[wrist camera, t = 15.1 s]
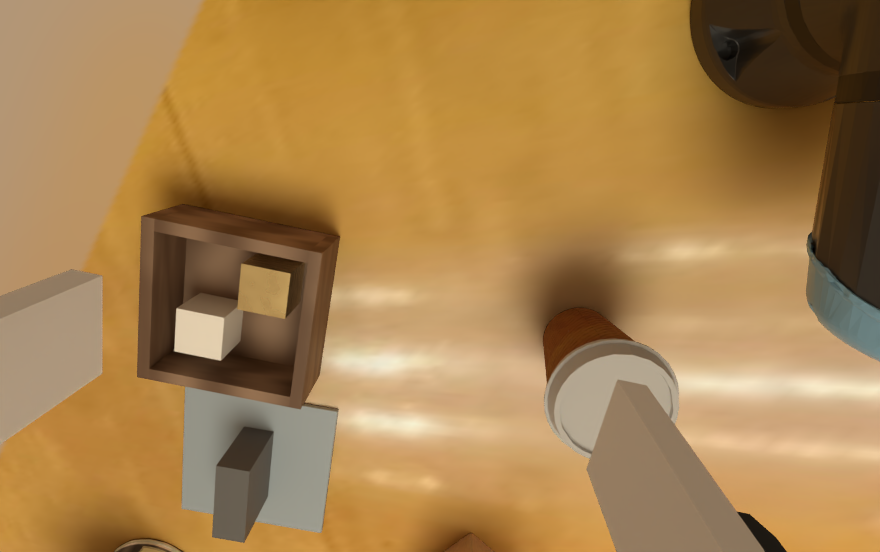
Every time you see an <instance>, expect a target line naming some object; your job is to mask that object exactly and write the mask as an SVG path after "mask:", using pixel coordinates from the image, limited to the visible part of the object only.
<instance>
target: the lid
mask: <svg viewBox="0 0 880 552" xmlns="http://www.w3.org/2000/svg"><path fill="white" fill-rule="evenodd" d="M338 410H339V409H334V408H328V407H323V406H317V405H312V404H306V403H304V404H303V406H302V408H301V410H300V409H295V408H290V407H285V406H280V405H275V404H270V403H265V402H260V401H255V400H250V399H245V398H240V397H235V396H230V395H225V394H220V393H215V392H210V391H205V390H200V389H195V388H190V387H185V413H184V447H183V481H182V509H187V510H192V511H198V512H204V513H210V514H213V532H212V537H214V538H220V539H226V540H231V541H237V542H243V543H244V542H245V540H246V538H247V536H248V534H249V532H250V531H251V529H252V527H253V525H254V523H255V522H261V523H267V524H273V525H278V526H284V527H290V528H295V529H301V530H307V531H313V532H318V533H321V532H322V528H323V521H324V513H325V506H326V499H327V491H328V484H329V476H330V469H331V462H332V454H333V447H334V439H335V432H336V425H337V417H338Z"/></svg>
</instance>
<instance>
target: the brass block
mask: <svg viewBox="0 0 880 552" xmlns="http://www.w3.org/2000/svg"><path fill="white" fill-rule="evenodd" d="M304 267H305V262H300V261H295V260H290V259H285V258H281V257H276V256H271V255H266V254H261V253H257V254H255V255H254V256H252V257H251V258H249V259H248V260H246V261H244V262H243V263H241V273H240V284H239V295H238V306H237V309H238V310H243V311H248V312H253V313H258V314H263V315H268V316H273V317H278V318H283V319H286V318H287V316H288V315H289V314H290V313H291V312H292V311H293V310H294V309H295V307H296V306H297V305H298V304H299V303H300V298H301V290H302V282H303V275H304Z"/></svg>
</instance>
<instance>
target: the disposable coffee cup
mask: <svg viewBox="0 0 880 552" xmlns="http://www.w3.org/2000/svg"><path fill="white" fill-rule="evenodd" d="M543 346H544V355H545V367H546V377H547V386H546V390H545V395H544V407H545V414H546V417H547V421H548V423H549V425H550V427H551V429H552V430H553V432H554V433H555V434H556V435H557V437H558V438H559V439H560V440H561V441H562V442H563V443H565V444H566V445H568V446H569V447H570V448H572V449H573V450H574V451H575V452H577V453H579V454H581V455H582V456H584V457H587V458H589V459H590V457H591V455H592V452H593V449H594V446H595V443H596V440H597V437H598V434H599V431H600V428H601V425H602V423H603V420H604V417H605V414H606V411H607V408H608V405H609V402H610V399H611V396H612V393H613V391H614V388H615V385H616V382H617V379H618V380H623V381H628V382H633V383H637V384H642V385H647V386H648V388H649V389H650V391H651V392H652V394H653V395H654V396H655V398H656V399H657V401H658V402H659V403H660V405H661V406H662V408H663V409H664V410H665V412H666V413H667V415H668V416H669V417H670V419H671V420H672V422H673V423H674V424H675V422H676V420H677V415H678V410H679V389H678V382H677V379H676V376H675V374H674V372H673V370H672V368H671V367H670V365H669V363H668V362H667V361H666V360H665V359H664V358H663V357H662V356H661V355H660V354H659V353H658V352H656V351H654V350H653V349H651V348H650V347H648V346H646V345H643V344H641V343H639V342H635V341H634V340H632V339H631V338H630V337H629V336H627V335H626V334H625V333H624V332H622V331H621V330H620V329H618V328H617V327H616V326H615V325H613V324H612V323H611V322H609V321H608V320H607V319H605V318H604V317H603V316H602V315H601V314H599V313H598V312H596V311H594V310H591V309H588V308H573V309H569V310H565V311H563V312H561V313H560V314H558V315H557V316H555V317H554V318H553V319H552V320H551V321H550V323H549V324H548V326H547V327H546V330H545V332H544V337H543Z"/></svg>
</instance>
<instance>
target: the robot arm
mask: <svg viewBox="0 0 880 552" xmlns="http://www.w3.org/2000/svg"><path fill="white" fill-rule="evenodd" d="M691 33H692V39H693V44H694V48H695V51H696V54H697V56H698V59H699V61H700V63H701V65H702V67H703V69H704V70H705V72H706V73H707V75H708V76H709V78H710V79H711V80H712V81H713V82H714V83H715V84H716V85H717V86H718V87H719V88H720V89H721V90H722V91H724V92H725V93H726V94H728V95H729V96H731V97H733V98H734V99H736V100H739V101H741V102H743V103H746V104H749V105H753V106H757V107H763V108H790V107H802V106H808V105H813V104H817V103H820V102H824V101H827V100H830V99H833V98H835V97H836V98H835V102H834V103H837V104H834V105H833V111H832V117H831V123H830V129H829V135H828V141H827V147H826V153H825V159H824V164H823V170H822V176H821V182H820V188H819V194H818V200H817V206H816V212H815V218H814V224H813V230H812V232H811V233H810V234H809V235H808V240H807V252H808V255H809V267H808V277H807V286H806V296H807V301H808V304H809V306H810V308H811V309H812V310H813V312H814V313H815V315H816V316H817V318H818V320H819V322H820V323H821V324H822V325H823V326H824V327H825V328H826V329H827V330H829V331H830V332H831V333H832V334H833V335H834V336H836V337H837V338H839V339H840V340H842V341H843V342H845V343H846V344H848V345H849V346H851V347H852V348H854V349H856V350H858V351H860V352H861V353H863V354H865V355H867V356H869V357H871V358H874V359H876V360H878V361H880V101H879V100H880V0H692V3H691ZM863 101H874V102H863ZM852 102H857V103H852ZM101 374H102V275H97V274H92V273H87V272H82V271H77V270H72V269H71V270H69V271H66V272H63V273H61V274H58V275H55V276H53V277H50V278H47V279H45V280H42V281H39V282H37V283H34V284H31V285H29V286H26V287H23V288H21V289H18V290H15V291H12V292H10V293H7V294H5V295H2V296H0V444H2V443H3V442H4V441H6V440H7V439H9V438H10V437H12V436H13V435H14V434H16V433H17V432H19V431H20V430H22V429H23V428H25V427H26V426H27V425H29V424H30V423H32V422H33V421H35V420H36V419H37V418H39V417H40V416H42V415H43V414H45V413H46V412H48V411H49V410H50V409H52V408H53V407H55V406H56V405H58V404H59V403H60V402H62V401H63V400H65V399H66V398H68V397H69V396H70V395H72V394H73V393H75V392H76V391H78V390H79V389H81V388H82V387H83V386H85V385H86V384H88V383H89V382H91V381H92V380H93V379H95V378H96V377H98V376H99V375H101ZM587 472H588V475H589V477H590V480H591V483H592V485H593V488H594V491H595V494H596V496H597V499H598V502H599V505H600V507H601V510H602V513H603V516H604V518H605V521H606V524H607V527H608V529H609V532H610V535H611V538H612V540H613V543H614V546H615V549H616V551H617V552H786V550H785V549H784V548H783V546H782V545H781V544H780V542H779V541H778V540H777V538H776V537H775V536H774V535H773V534H771V533H770V532H769V531H768V530H767V529H766V528H765V527H763V526H762V525H761V524H760V523H759V522H758V521H757V520H755V519H754V518H753V517H752V516H751V515H750V514H746V513H741V512H737V511H736V510H735V509H734V507H733V506H732V504H731V503H730V502H729V500H728V499H727V497H726V496H725V495H724V493H723V492H722V490H721V489H720V488H719V486H718V485H717V483H716V482H715V481H714V479H713V478H712V476H711V475H710V474H709V472H708V471H707V469H706V468H705V467H704V465H703V464H702V462H701V461H700V460H699V458H698V457H697V455H696V454H695V452H694V451H693V450H692V448H691V447H690V445H689V444H688V443H687V441H686V440H685V438H684V437H683V436H682V434H681V433H680V431H679V430H678V429H677V427H676V426H675V424H674V423H673V422H672V420H671V419H670V417H669V416H668V415H667V413H666V412H665V410H664V409H663V408H662V406H661V405H660V403H659V402H658V401H657V399H656V398H655V396H654V395H653V394H652V392H651V391H650V389H649V388H648V386H647V385H642V384H637V383H633V382H628V381H623V380H618V379H617V382H616V385H615V388H614V391H613V393H612V396H611V399H610V402H609V405H608V408H607V411H606V414H605V417H604V420H603V423H602V425H601V428H600V431H599V434H598V437H597V440H596V443H595V446H594V449H593V452H592V455H591V457H590V460H589V463H588V466H587Z"/></svg>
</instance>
